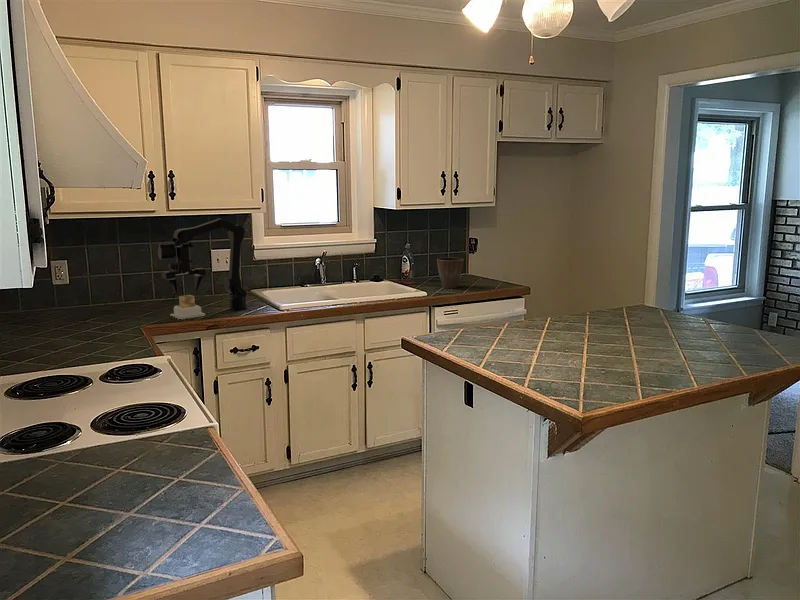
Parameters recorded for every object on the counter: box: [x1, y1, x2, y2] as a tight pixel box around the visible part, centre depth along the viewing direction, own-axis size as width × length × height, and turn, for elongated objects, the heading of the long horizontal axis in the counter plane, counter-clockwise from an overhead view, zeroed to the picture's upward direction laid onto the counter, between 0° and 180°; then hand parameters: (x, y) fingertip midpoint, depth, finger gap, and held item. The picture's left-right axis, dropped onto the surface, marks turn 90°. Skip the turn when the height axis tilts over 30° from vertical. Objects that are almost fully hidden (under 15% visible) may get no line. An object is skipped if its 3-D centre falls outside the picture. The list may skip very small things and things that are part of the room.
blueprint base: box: [170, 304, 206, 320], centre depth 289 cm, size 12×10×5 cm
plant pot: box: [436, 256, 465, 289], centre depth 354 cm, size 15×15×16 cm
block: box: [178, 294, 196, 308], centre depth 288 cm, size 5×5×5 cm
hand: (186, 292), depth 287 cm, fingers open, 9 cm apart
